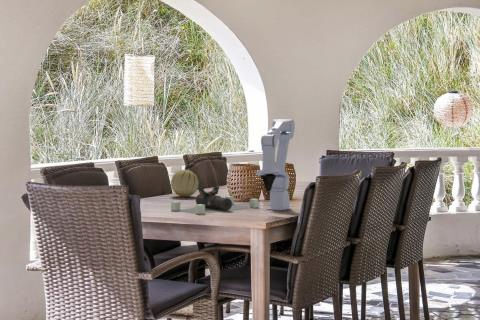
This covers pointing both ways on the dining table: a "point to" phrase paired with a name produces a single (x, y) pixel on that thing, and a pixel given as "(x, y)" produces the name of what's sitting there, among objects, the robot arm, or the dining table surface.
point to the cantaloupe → (184, 183)
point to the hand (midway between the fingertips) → (268, 190)
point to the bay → (202, 210)
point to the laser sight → (213, 199)
